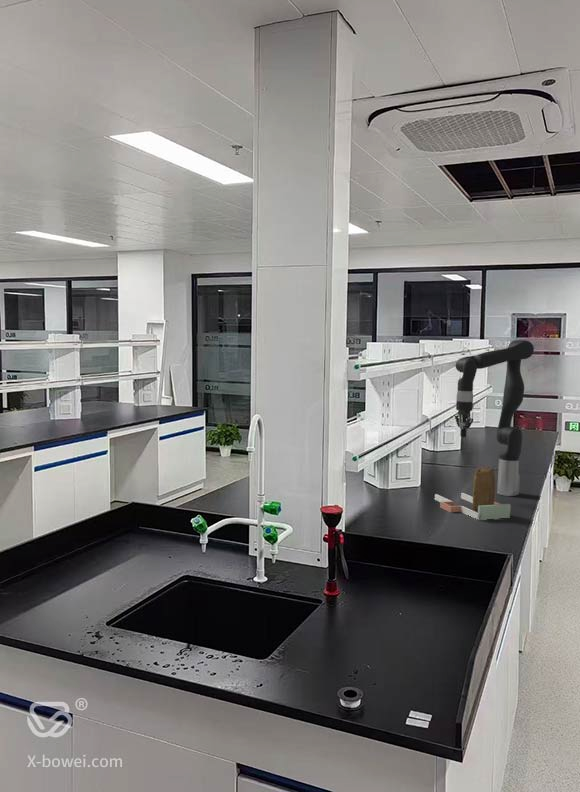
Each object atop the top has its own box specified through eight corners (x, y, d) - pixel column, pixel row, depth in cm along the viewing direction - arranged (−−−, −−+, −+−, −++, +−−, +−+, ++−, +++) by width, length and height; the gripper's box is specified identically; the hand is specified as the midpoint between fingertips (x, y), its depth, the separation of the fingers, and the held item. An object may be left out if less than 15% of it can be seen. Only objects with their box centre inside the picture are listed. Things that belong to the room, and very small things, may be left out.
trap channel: (472, 497, 319) (472, 485, 318) (519, 517, 284) (520, 503, 283) (425, 500, 311) (425, 487, 311) (468, 521, 277) (469, 506, 276)
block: (487, 517, 283) (490, 470, 282) (470, 514, 288) (472, 468, 286) (495, 512, 292) (498, 467, 291) (479, 509, 297) (481, 464, 295)
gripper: (479, 401, 311) (477, 438, 313) (464, 398, 324) (462, 434, 325) (465, 401, 309) (463, 439, 310) (450, 399, 321) (448, 434, 323)
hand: (463, 436), depth 318 cm, fingers closed
